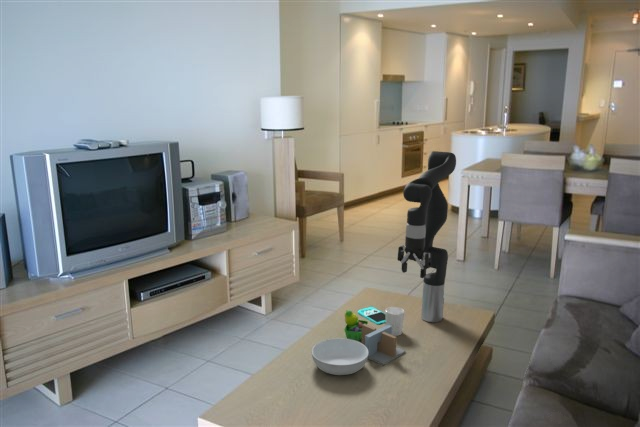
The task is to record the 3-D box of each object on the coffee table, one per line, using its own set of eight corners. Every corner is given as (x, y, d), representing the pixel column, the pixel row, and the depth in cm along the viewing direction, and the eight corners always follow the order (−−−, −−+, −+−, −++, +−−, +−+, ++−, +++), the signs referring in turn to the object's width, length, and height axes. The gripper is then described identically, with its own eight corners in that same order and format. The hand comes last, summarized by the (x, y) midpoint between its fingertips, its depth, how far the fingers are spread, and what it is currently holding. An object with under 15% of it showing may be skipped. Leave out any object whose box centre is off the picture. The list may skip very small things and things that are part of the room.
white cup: (402, 328, 225) (403, 307, 223) (403, 337, 218) (404, 314, 215) (384, 327, 226) (385, 306, 224) (384, 336, 218) (385, 313, 216)
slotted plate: (387, 342, 211) (387, 324, 209) (390, 344, 209) (391, 326, 207) (364, 354, 201) (365, 335, 199) (368, 356, 200) (369, 337, 198)
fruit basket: (361, 344, 211) (362, 318, 209) (340, 340, 214) (341, 315, 211) (368, 332, 222) (369, 307, 219) (347, 329, 224) (348, 304, 222)
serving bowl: (338, 348, 207) (338, 332, 206) (379, 368, 193) (380, 351, 191) (299, 366, 193) (299, 349, 191) (340, 389, 179) (341, 371, 177)
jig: (373, 338, 216) (374, 319, 214) (405, 352, 205) (406, 331, 203) (350, 350, 206) (351, 329, 204) (382, 365, 195) (383, 343, 193)
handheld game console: (372, 308, 247) (372, 305, 247) (394, 320, 234) (394, 318, 234) (355, 313, 242) (355, 310, 242) (377, 325, 229) (377, 323, 229)
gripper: (436, 237, 199) (434, 277, 202) (406, 229, 208) (404, 268, 212) (425, 240, 193) (423, 282, 197) (394, 233, 203) (392, 272, 207)
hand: (413, 274), depth 205 cm, fingers open, 8 cm apart
